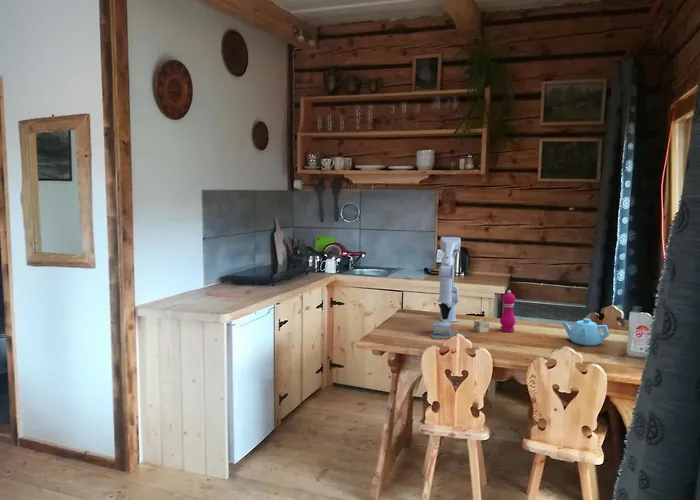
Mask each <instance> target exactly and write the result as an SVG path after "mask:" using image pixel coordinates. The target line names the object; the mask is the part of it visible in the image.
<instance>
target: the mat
mask: <svg viewBox="0 0 700 500" xmlns="http://www.w3.org/2000/svg"><path fill="white" fill-rule="evenodd" d="M457 333H460V334H462V335H464V336H465V337H466V338H465V339H468V336H467V335H465V334H464V333H463V332H462V331H457V330H456V331H451V335H434V334H433V331H431V332H430V331H429V332H427V335H428V336H430V338H432V339H433V340H449V339H448V338H450V337H452V336H454V335H455V334H457Z"/></svg>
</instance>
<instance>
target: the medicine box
mask: <svg viewBox="0 0 700 500" xmlns="http://www.w3.org/2000/svg"><path fill="white" fill-rule="evenodd" d="M451 326H452V325H451V322H443V321H434V320H433V321H432V332H433V334H434V335H451V332H452V330H451Z"/></svg>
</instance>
